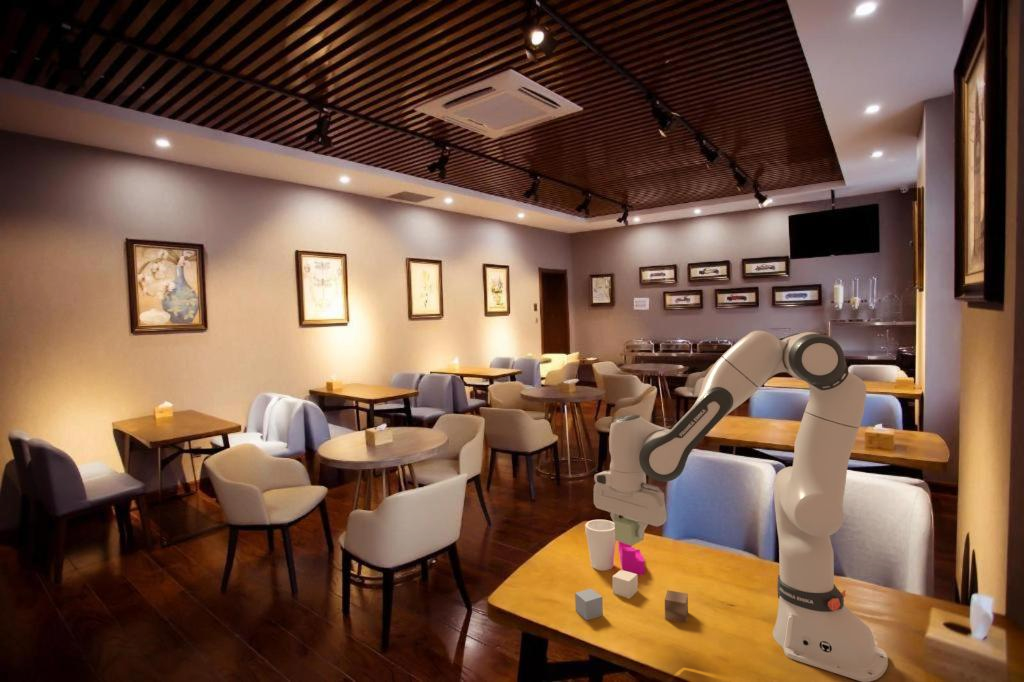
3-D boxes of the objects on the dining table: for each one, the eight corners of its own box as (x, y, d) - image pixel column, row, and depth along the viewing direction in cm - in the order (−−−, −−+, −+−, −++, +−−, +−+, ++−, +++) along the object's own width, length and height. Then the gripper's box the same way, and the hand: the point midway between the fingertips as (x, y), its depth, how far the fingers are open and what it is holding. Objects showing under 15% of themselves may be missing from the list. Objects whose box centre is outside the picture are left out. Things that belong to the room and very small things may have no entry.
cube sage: (643, 539, 137) (643, 520, 136) (631, 545, 133) (631, 525, 133) (627, 534, 140) (626, 515, 140) (615, 540, 137) (614, 520, 137)
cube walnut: (688, 612, 138) (687, 593, 138) (686, 623, 133) (685, 603, 133) (667, 609, 140) (667, 590, 140) (665, 619, 135) (664, 599, 135)
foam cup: (594, 576, 159) (592, 533, 158) (581, 563, 168) (580, 522, 167) (623, 571, 161) (622, 528, 161) (609, 558, 170) (608, 518, 170)
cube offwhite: (637, 592, 149) (637, 574, 149) (629, 599, 145) (628, 581, 145) (621, 586, 152) (621, 569, 152) (612, 594, 149) (612, 576, 148)
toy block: (644, 576, 158) (644, 551, 158) (623, 576, 159) (622, 551, 159) (638, 554, 173) (638, 531, 173) (618, 554, 174) (618, 531, 174)
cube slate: (602, 615, 138) (602, 596, 138) (586, 621, 136) (585, 601, 136) (591, 606, 142) (591, 588, 142) (575, 611, 140) (575, 592, 140)
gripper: (671, 485, 130) (672, 541, 131) (604, 469, 146) (606, 520, 146) (655, 491, 126) (657, 549, 127) (589, 474, 142) (590, 526, 142)
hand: (629, 533), depth 137 cm, fingers closed on cube sage, 5 cm apart
